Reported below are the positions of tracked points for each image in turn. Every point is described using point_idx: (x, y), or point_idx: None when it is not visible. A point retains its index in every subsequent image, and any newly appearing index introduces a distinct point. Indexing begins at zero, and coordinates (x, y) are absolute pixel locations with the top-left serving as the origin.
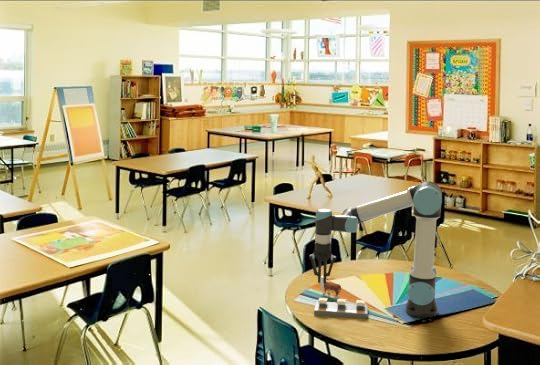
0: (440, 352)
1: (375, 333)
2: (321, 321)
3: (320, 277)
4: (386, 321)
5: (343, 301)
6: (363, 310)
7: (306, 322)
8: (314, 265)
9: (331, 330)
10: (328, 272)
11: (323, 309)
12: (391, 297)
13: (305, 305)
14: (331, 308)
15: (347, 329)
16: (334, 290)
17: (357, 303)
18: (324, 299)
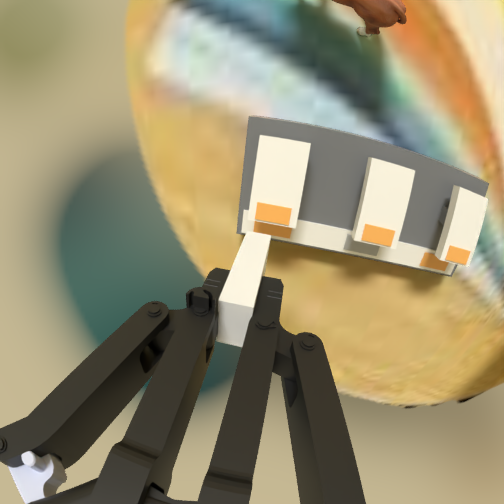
0: (473, 394)
1: (416, 353)
2: None
3: (218, 340)
4: (482, 290)
5: (390, 235)
6: None
7: None
8: (111, 418)
9: None
10: (290, 401)
11: (280, 231)
12: None
13: (198, 124)
14: (323, 212)
15: (349, 337)
16: (361, 16)
17: (444, 260)
18: (288, 183)
